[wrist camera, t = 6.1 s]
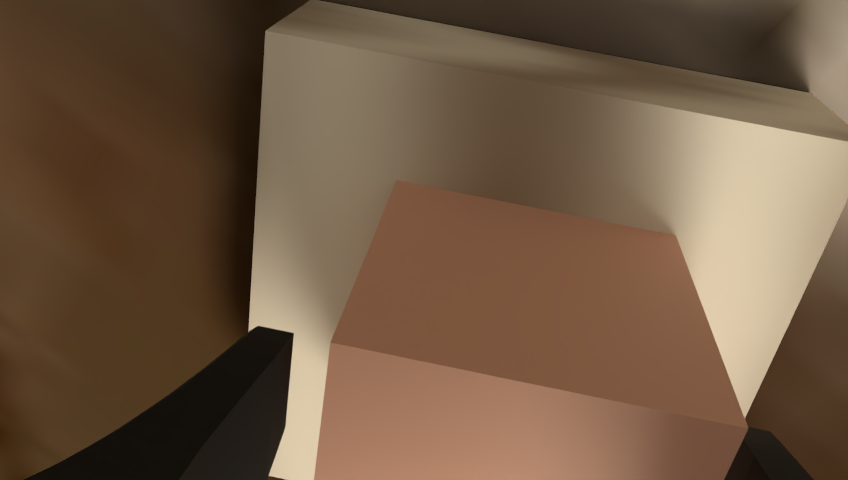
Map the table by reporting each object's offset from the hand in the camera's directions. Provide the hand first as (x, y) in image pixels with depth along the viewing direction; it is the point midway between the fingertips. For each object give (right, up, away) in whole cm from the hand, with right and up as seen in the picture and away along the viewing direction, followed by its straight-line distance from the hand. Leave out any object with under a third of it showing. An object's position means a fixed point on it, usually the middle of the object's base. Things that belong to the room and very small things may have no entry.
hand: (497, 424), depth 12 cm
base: (+1, +3, +5) cm, 6 cm away
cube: (0, +1, +2) cm, 3 cm away
